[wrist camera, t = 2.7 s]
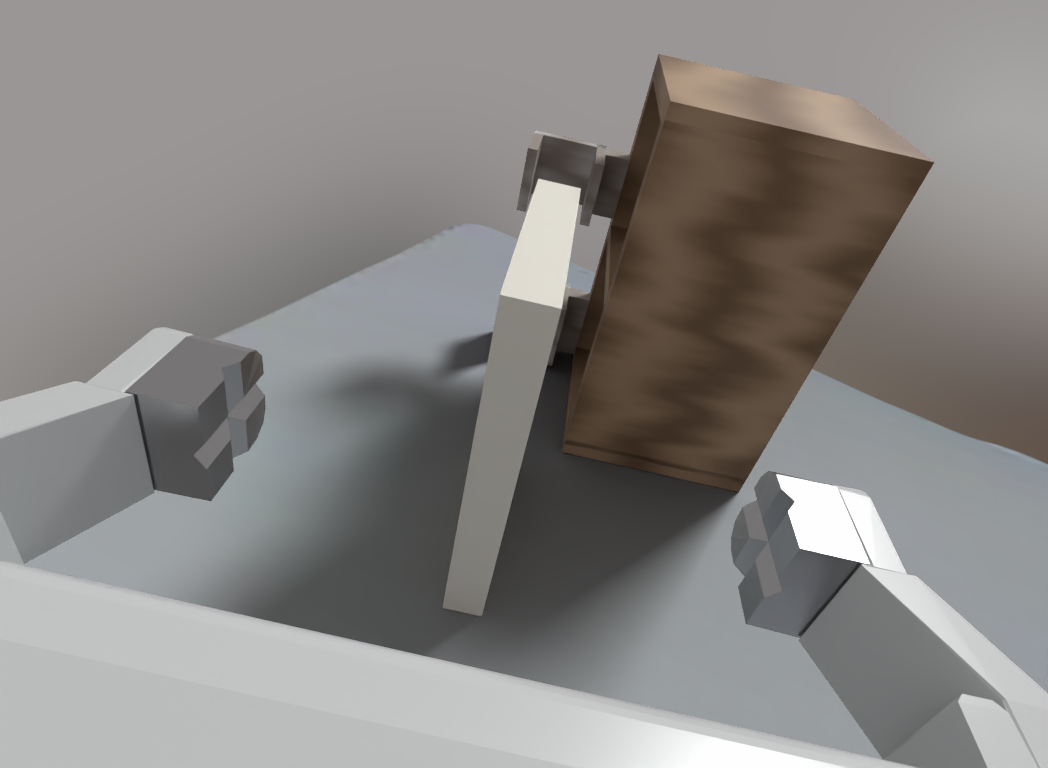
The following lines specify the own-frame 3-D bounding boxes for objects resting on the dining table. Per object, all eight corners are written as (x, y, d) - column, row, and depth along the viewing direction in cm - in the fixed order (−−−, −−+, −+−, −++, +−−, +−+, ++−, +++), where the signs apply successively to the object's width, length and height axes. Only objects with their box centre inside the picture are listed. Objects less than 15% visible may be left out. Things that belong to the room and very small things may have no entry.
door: (513, 461, 39) (581, 188, 28) (481, 616, 30) (561, 308, 19) (482, 454, 39) (538, 178, 28) (442, 607, 30) (499, 294, 19)
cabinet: (716, 379, 51) (851, 97, 37) (738, 492, 41) (934, 162, 27) (498, 329, 51) (554, 28, 37) (467, 430, 41) (529, 68, 27)
